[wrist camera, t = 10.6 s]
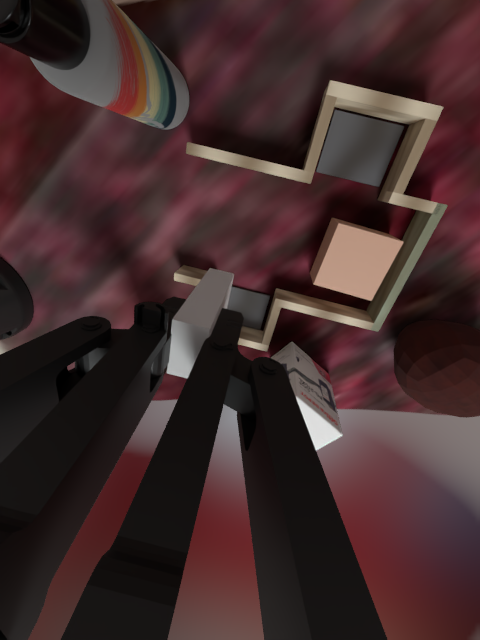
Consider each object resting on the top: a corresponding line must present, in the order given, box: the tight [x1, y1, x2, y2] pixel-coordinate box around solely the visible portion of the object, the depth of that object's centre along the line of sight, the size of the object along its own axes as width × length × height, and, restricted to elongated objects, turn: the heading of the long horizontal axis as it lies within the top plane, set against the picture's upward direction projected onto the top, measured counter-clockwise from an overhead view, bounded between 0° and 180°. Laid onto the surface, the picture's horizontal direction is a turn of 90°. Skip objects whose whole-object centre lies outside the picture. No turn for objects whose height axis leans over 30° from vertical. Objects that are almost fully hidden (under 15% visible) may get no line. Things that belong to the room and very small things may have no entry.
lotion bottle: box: [0, 0, 189, 129], centre depth 20 cm, size 6×6×20 cm
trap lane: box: [174, 80, 448, 351], centre depth 32 cm, size 26×29×4 cm
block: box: [310, 218, 403, 301], centre depth 32 cm, size 7×7×4 cm
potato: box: [394, 319, 480, 417], centre depth 33 cm, size 11×13×10 cm
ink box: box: [271, 342, 343, 451], centre depth 37 cm, size 8×5×12 cm, turn 48°
